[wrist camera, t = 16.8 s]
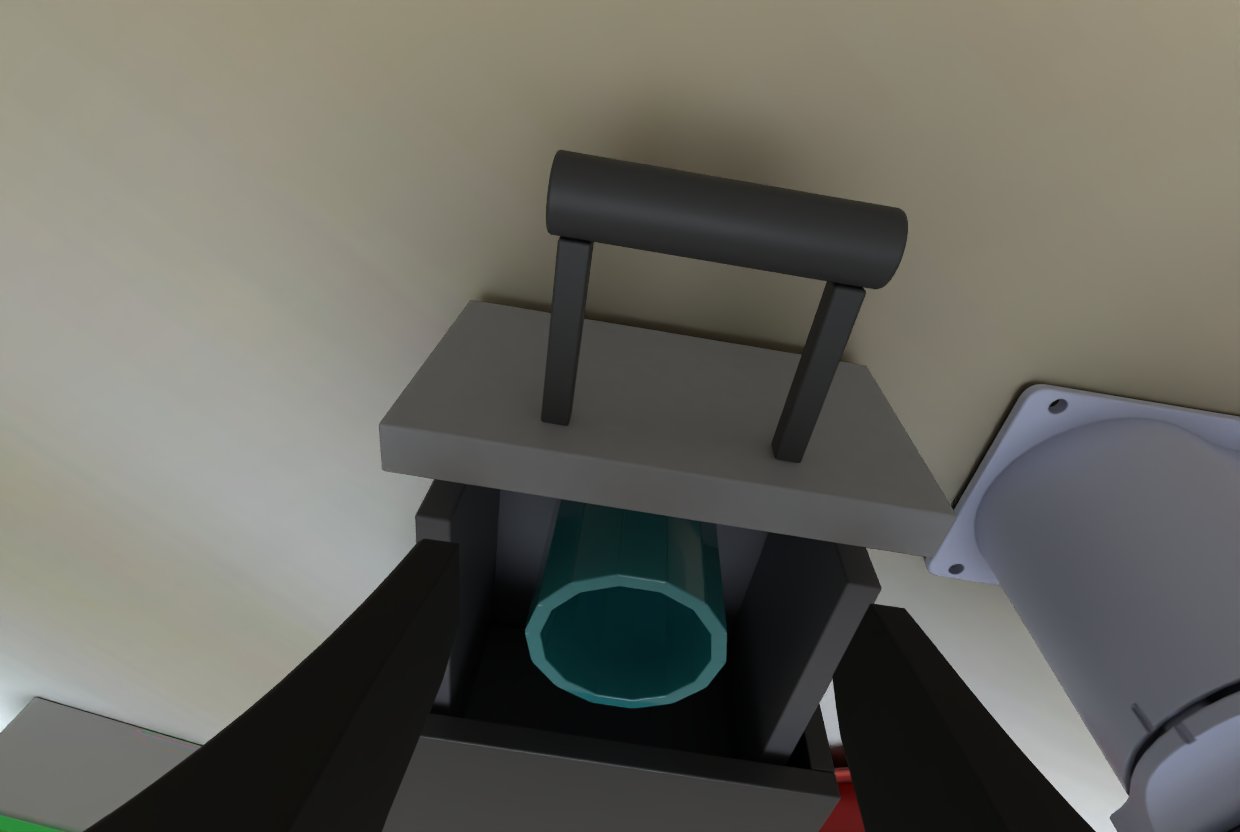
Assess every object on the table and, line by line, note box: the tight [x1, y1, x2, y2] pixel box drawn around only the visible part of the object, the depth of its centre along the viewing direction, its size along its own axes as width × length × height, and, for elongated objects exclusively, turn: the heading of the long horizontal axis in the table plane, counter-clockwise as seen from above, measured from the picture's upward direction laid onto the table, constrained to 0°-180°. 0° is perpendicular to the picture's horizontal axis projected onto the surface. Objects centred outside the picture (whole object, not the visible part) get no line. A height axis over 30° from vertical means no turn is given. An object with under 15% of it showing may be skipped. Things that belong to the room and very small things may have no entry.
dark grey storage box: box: [382, 704, 841, 832], centre depth 24 cm, size 14×13×8 cm
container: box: [525, 498, 727, 708], centre depth 18 cm, size 5×5×6 cm
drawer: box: [379, 150, 957, 766], centre depth 17 cm, size 19×12×7 cm, turn 171°
